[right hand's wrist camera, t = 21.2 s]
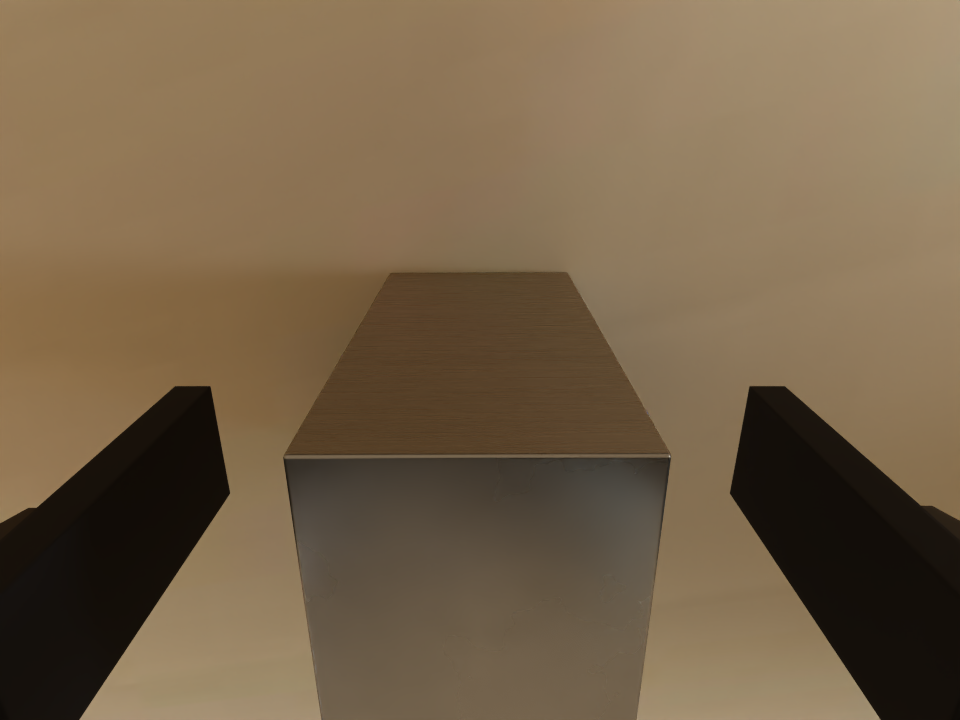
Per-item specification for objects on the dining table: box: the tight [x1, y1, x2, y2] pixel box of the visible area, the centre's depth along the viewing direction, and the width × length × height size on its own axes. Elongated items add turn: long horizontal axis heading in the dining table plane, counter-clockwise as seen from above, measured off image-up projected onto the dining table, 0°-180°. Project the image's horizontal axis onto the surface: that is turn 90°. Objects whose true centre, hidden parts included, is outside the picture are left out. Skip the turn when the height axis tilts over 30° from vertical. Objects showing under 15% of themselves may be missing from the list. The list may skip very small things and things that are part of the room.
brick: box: [283, 273, 671, 720], centre depth 13 cm, size 6×5×9 cm
